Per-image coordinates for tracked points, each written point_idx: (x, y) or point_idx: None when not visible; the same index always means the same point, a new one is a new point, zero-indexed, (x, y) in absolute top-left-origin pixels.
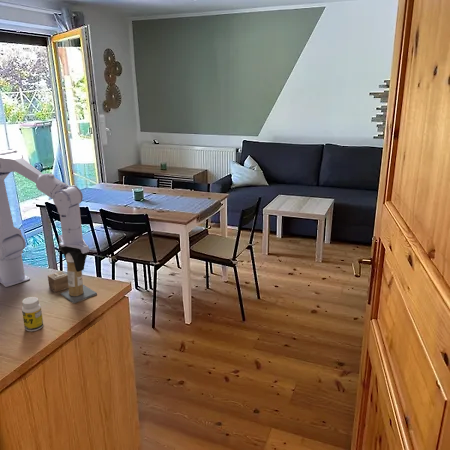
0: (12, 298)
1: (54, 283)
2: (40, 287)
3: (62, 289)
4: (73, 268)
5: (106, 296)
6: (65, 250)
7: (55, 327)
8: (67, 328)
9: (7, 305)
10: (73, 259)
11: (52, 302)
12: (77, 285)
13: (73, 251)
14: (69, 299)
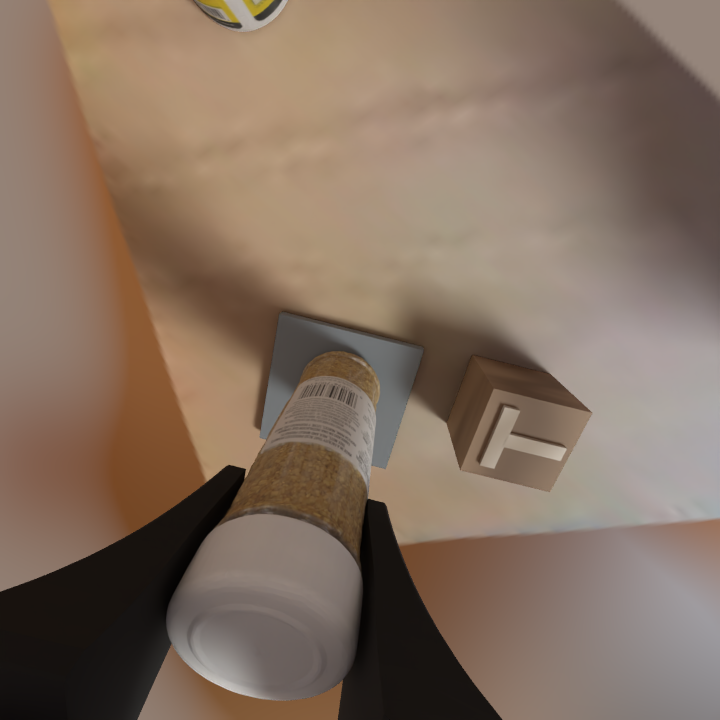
0: (684, 156)
1: (490, 377)
2: (604, 352)
3: (459, 391)
4: (251, 474)
5: (210, 438)
6: (370, 689)
7: (136, 52)
8: (77, 89)
9: (646, 62)
10: (158, 555)
11: (395, 260)
12: (288, 401)
13: (10, 703)
14: (324, 324)
